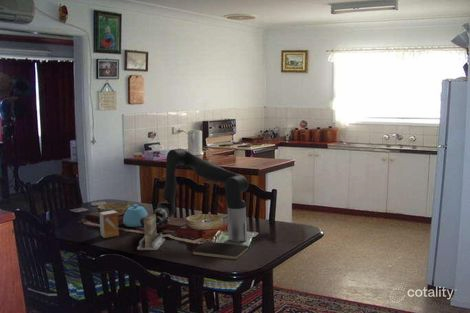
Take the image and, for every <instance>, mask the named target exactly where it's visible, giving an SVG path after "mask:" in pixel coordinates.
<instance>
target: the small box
mask: <svg viewBox="0 0 470 313" xmlns="http://www.w3.org/2000/svg"><path fill="white" fill-rule="evenodd" d="M98 214H99V225H100V226H99V228H100V229H99V230H100V236H101V237H103V238H104V239H108V238H113V237H118V236H120V235H119V234H120V232H119V215H118V212H117V211H116V210H109V211H107V210H106V211H101V212H99V213H98Z"/></svg>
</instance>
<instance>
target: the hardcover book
mask: <svg viewBox="0 0 470 313" xmlns="http://www.w3.org/2000/svg"><path fill="white" fill-rule="evenodd" d="M248 250H250V245H243V244H237V243H236V244H235V243H234V244H233V243H223V242H217V241H216V242H214V241H204V242H203V243H202V244H200V245H199V246H197V247H195V248H194V249H192V250H191V252H192V255H196V256H197V255H198V256H205V257H213V258H223V259H232V260H237V259H238V258H240V257H241V256H242V255H243V254H244V253H246V252H247V251H248Z"/></svg>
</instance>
